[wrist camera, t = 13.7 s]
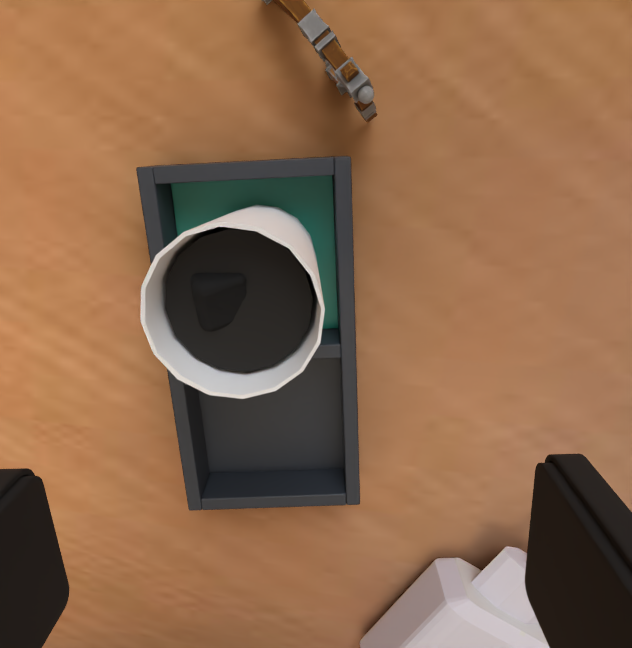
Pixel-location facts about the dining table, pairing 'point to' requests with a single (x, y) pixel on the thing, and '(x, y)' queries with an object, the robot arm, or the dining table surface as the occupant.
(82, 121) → the dining table surface
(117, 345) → the dining table surface
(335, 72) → the wooden post with brackets
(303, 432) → the grey divided tray
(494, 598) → the charger
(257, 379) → the coffee cup
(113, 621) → the dining table surface
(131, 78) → the dining table surface
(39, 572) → the robot arm
